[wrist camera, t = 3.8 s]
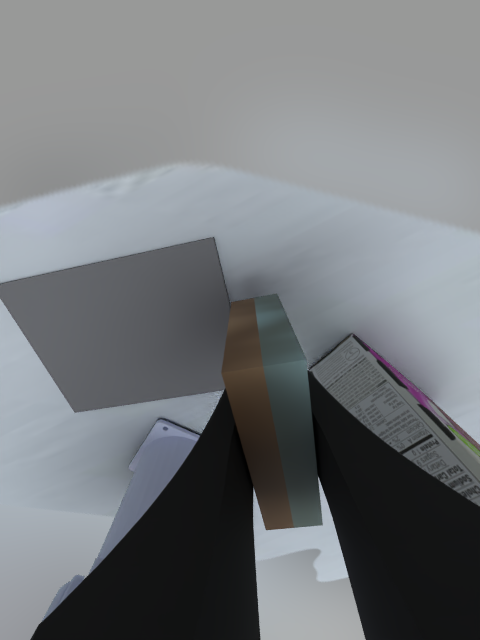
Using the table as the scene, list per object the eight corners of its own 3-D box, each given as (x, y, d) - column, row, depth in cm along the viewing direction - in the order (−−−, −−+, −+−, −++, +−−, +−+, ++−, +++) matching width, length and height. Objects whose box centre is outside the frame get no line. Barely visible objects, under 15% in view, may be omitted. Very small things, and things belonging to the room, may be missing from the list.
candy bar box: (436, 400, 20) (1021, 950, 5) (388, 432, 22) (718, 918, 7) (352, 326, 17) (1068, 1036, 2) (304, 369, 19) (538, 947, 4)
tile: (277, 293, 10) (306, 359, 5) (293, 413, 13) (322, 525, 8) (231, 302, 10) (221, 372, 5) (257, 418, 13) (265, 530, 8)
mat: (213, 237, 15) (213, 237, 14) (248, 383, 20) (248, 386, 19) (-3, 284, 16) (-8, 285, 16) (77, 409, 21) (74, 412, 21)
